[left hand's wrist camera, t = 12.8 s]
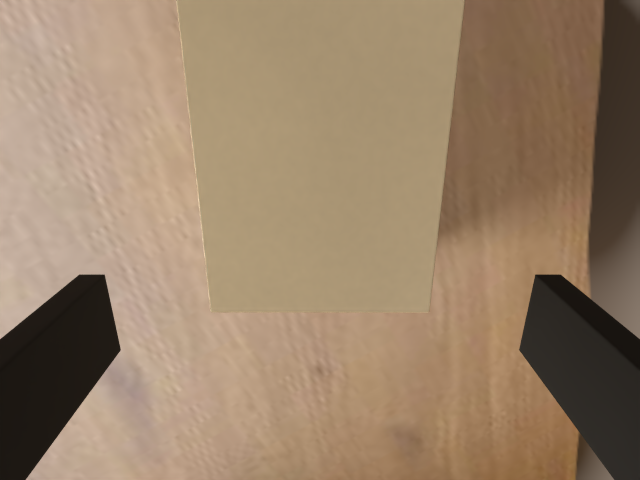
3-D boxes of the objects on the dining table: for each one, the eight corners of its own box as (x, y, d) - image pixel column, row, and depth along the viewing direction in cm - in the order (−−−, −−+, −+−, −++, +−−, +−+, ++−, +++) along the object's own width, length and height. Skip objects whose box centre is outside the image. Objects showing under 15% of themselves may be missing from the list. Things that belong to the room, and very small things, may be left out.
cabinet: (213, -80, 22) (157, -163, 14) (427, -80, 22) (484, -163, 14) (238, 251, 29) (210, 312, 21) (401, 252, 29) (429, 313, 21)
